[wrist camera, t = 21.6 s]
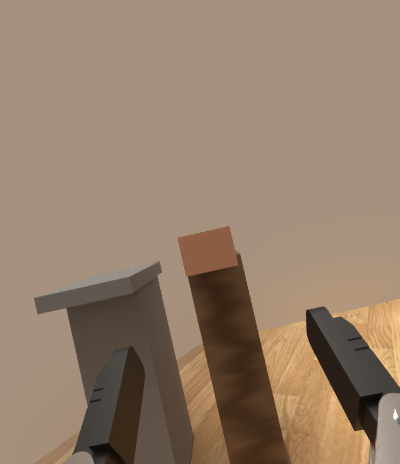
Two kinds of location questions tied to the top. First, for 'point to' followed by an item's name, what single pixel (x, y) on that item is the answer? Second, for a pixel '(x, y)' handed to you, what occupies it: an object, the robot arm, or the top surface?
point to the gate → (237, 367)
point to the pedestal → (145, 344)
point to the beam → (207, 251)
